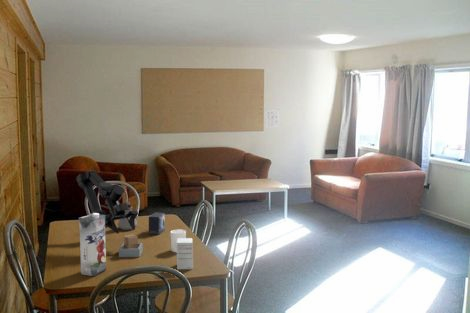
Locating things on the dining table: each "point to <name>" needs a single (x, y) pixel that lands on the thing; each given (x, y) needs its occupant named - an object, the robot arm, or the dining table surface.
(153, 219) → the small box
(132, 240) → the tan upright block
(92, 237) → the juice carton
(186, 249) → the supplement box
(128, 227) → the coffee pot
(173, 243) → the white cup
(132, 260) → the dining table surface
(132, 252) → the open box
